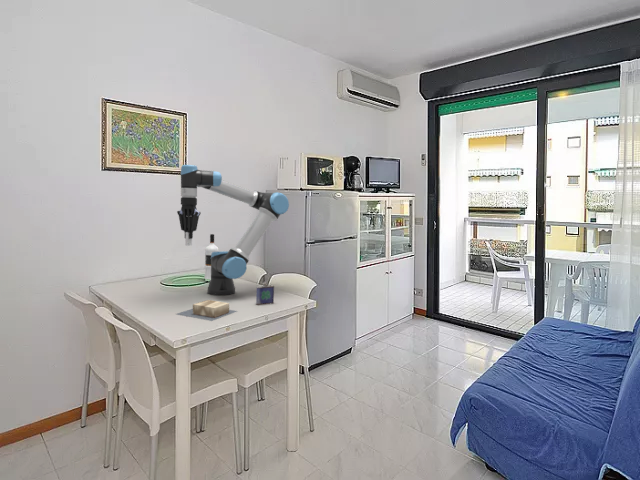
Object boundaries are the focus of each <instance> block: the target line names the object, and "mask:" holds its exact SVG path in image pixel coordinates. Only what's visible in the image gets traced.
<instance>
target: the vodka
mask: <svg viewBox="0 0 640 480" xmlns="http://www.w3.org/2000/svg"><path fill="white" fill-rule="evenodd" d="M204 250H205V253H204V254H205V255H204V256H205V259H204V260H205V262H204V263H205V264H204V269H205V270H204V277H203V279H204V278H205V279H211V254H212V252H220V250H219V247H218V246H217V245H216V244H215V234H213V233H212V234H211V233H210V234H209V245H207V246H206V247H205V248H204Z"/></svg>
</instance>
